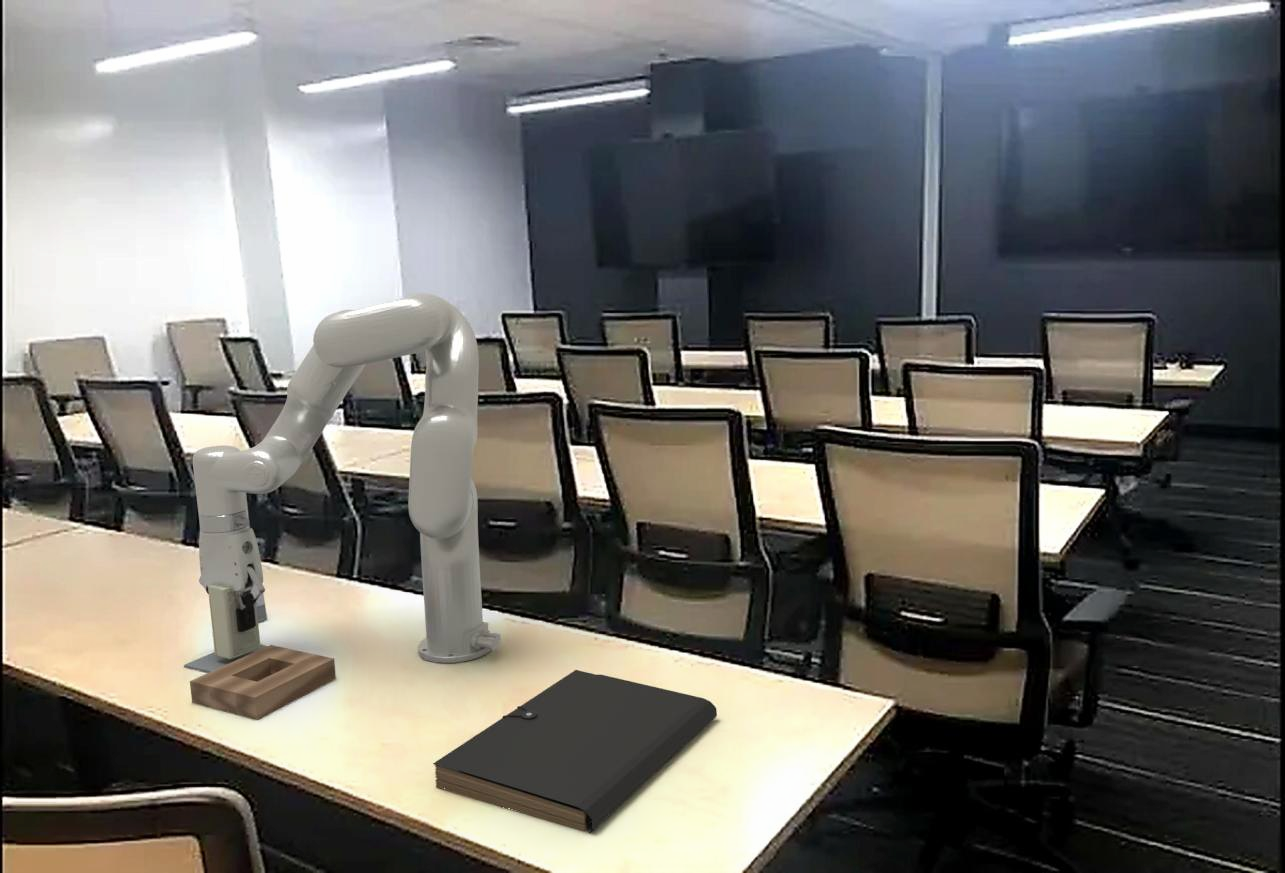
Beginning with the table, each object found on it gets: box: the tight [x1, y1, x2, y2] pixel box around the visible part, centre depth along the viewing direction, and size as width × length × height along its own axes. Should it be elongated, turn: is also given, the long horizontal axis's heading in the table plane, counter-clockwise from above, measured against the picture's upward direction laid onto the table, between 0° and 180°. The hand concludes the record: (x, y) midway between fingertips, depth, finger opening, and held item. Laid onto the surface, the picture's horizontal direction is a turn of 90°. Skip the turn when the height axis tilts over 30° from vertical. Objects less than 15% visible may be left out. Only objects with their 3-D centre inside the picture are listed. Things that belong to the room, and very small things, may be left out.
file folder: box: [432, 669, 718, 834], centre depth 143 cm, size 33×4×24 cm
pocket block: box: [189, 644, 337, 721], centre depth 166 cm, size 14×16×4 cm
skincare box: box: [208, 584, 261, 659], centre depth 177 cm, size 6×4×12 cm
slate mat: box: [183, 643, 268, 674], centre depth 179 cm, size 12×12×1 cm
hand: (235, 626), depth 178 cm, fingers closed on skincare box, 4 cm apart
